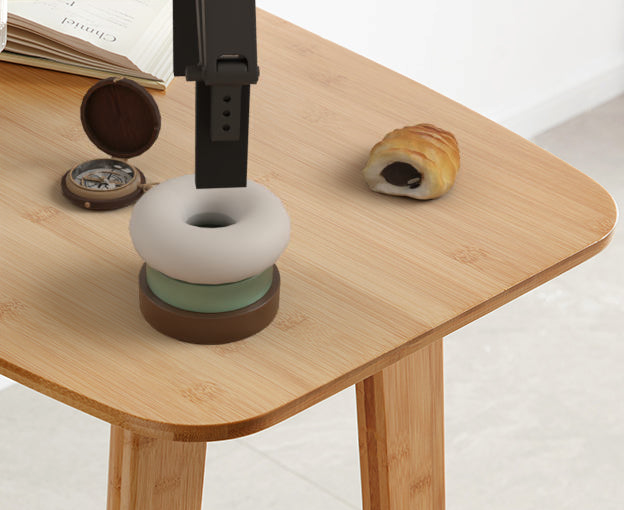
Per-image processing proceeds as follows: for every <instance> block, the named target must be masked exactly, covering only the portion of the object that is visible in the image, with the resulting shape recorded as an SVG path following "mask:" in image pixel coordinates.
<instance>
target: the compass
mask: <svg viewBox="0 0 624 510" xmlns="http://www.w3.org/2000/svg"><path fill="white" fill-rule="evenodd" d="M79 115H80V117H79V119H80V123H81V126H82V130H83V131H84V133H85V135H86V137H87V138H88V140H89V141H90V143H92V144H93V145H94V146H95V147H96V148H97V149H98V150H100V151H101V152H103V153H104V154H105V155H108V156H110V157H98V158H91V159H88V160H84V161H82V162H79V163H78V164H76V165H75V166H73V167H72V168H70V169H67V171H66V172H65V173H64V174H63V175H62V177H61V180H60V188H61V189H60V190H61V192H62V196H64V198H66V199H67V201H69V202H70V203H72V204H75V205H76V206H78V207H82V208H86V209H89V210H100V211H101V210H113V209H114V210H115V209H118V208H119V209H120V208H124V207H126V206H128V205H131V204H133V203H135V202H137V201H138V200H139V199H140V198H141V197H142V196H143V195H144V194H145V193H146V192H147V191H148V190H150V189H151V188H152V187H153V186H156V185H158V184H160V183H161V182H156V181H155V182H149V183H147V178H146V176H145V173H144V172H142V171H141V169H139V168H138V167H136V166H135V165H132V164H130V163H128V160H130V159H134V158H136V157H140V156H142V155H143V154H144V153H146V152H147V151H149V150H150V149H151V148H152V147H153V145H154V144H155V143H156V141H157V140H158V139H159V135H160V132H161V129H162V116H161V112H160V109H159V104H158V103H157V102H156V99H155V98H154V96H153V95H152V94H151V93H150V91H149V90H147V89H146V87H145V86H144V85H142V84H140V83H138V82H137V81H135V80H133V79H130V78H127V77H124V76H122V75H119V76H109V77H106V78H103V79H100V80H99V81H97V82H96V83H95V84H93V85H91V87H90V88H88V90H87V91H86V93H85V94H84V95H83V97H82V100H81V103H80V107H79Z"/></svg>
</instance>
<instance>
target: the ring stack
mask: <svg viewBox="0 0 624 510" xmlns="http://www.w3.org/2000/svg"><path fill="white" fill-rule="evenodd" d="M196 227H200V228H220V227H225V226H221V225H200V226H196ZM280 294H281V273H280V270H279V268H278V266H277V264H276V263H275V264H273V265H272V266H270V267H269V268H267V269H266V270H264V271H263V272H261V273H259V274H258V275H255V276H253V277H250V278H247V279H244V280H241V281H238V282H231V283H223V284H199V283H190V282H186V281H182V280H178V279H174V278H171V277H169V276H167V275H165V274H163V273H161V272H159V271H157V270H155V269H154V268H152V267H150V266H149V265H148V264H147V263H146V262H145V261H144V262H143V263H142V265H141V266H140V269H139V273H138V300H139V309H140V312H141V314H142V316H143V319H145V321H146V322H147V323H148V324H149V325H150V326H151V327H152V328H153V329H155V330H156V331H157V332H159V333H161V334H163V335H165V336H168V337H169V338H172V339H174V340H178V341H182V342H185V343H191V344H197V345H198V344H199V345H200V344H201V345H218V344H227V343H228V344H229V343H233V342H234V343H235V342H239V341H242V340H245V339H247V338H250V337H253V336H254V335H256V334H258V333H260V332H262V331H263V330H264V329H266V328H267V327H268V326H269V325H271V323H272V322H273V321H274V319H276V316H277V315H278V312H279V308H280V298H281V297H280V296H281V295H280Z"/></svg>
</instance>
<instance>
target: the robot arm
mask: <svg viewBox="0 0 624 510" xmlns="http://www.w3.org/2000/svg"><path fill="white" fill-rule="evenodd" d="M256 5H257V4H256V0H172V74H173V77H175V78H176V77H184V78H185V81H186V82H194V83H195V84H194V174H195V185H196V189H215V188H242V187H247V178H248V157H249V133H250V132H249V131H250V106H251V105H250V103H251V85H257V84H258V82H259V77H260V75H261V74H260V73H261V72H260V71H261V69H260V66H258V37H257V6H256Z"/></svg>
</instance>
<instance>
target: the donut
mask: <svg viewBox="0 0 624 510" xmlns="http://www.w3.org/2000/svg"><path fill="white" fill-rule="evenodd" d="M159 183H160V184H158V185H156V184H155V185H153V186H152V188H151V189H150V190H148V191H146V193H143V195H142V196H141V197H140V198H139V199H137V200H136V203H135V204H134V206H133V208H132V212H131V215H130V219H129V224H128V232H129V237H130V240H131V243H132V246H133V249H134V251H135V252H136V253H137V255H138V256H139V257H140V259H142V260H143V261H144V262H146V263H147V264H148V265H149V266H150V267H152V268H154V269H155V270H157V271H159V272H161V273H163V274H165V275H167V276H169V277H171V278H174V279H178V280H182V281H186V282H190V283H199V284H223V283H231V282H238V281H241V280H244V279H247V278H250V277H253V276H255V275H258V274H259V273H261V272H263V271H264V270H266V269H267V268H269V267H270V266H272V265H273V264H276V263H277V262H278V260H279V259H280V258H281V256H282V255H283V253H284V252H285V251H286V249H287V247H288V246H289V244H290V239H291V229H292V222H291V216H290V214H289V212H288V211H287V209H286V207H285V205H284V203H283V201H282V199H281V198H280V197H279V196H277V195H276V194H275V193H274V192H272V191H271V189H269V188H268V187H266V186H265V185H263V184H261V183H259V182H257V181H255V180H252V179H250V178H248V177H247V187H242V188H215V189H196V185H195V173H187V174H182V175H178V176H176V177H172V178H171V177H170V178H168V179H166V180H164V181H162V182H159ZM200 225H221V226H225V227H220V228H200V227H196V226H200Z"/></svg>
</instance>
